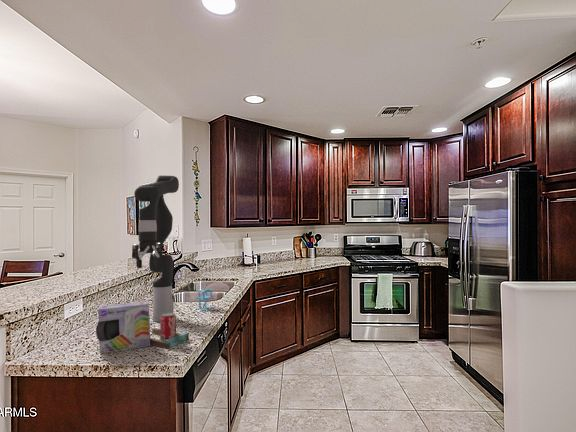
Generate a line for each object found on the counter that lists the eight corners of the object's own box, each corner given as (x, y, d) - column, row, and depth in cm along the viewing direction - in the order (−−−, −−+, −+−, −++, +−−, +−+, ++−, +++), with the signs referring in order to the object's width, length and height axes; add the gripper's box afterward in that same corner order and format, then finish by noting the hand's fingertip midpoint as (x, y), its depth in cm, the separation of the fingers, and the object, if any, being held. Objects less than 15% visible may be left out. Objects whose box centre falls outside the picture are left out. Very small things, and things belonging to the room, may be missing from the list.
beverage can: (178, 340, 146) (178, 311, 146) (173, 345, 140) (173, 316, 140) (163, 340, 146) (163, 312, 146) (157, 346, 140) (157, 316, 140)
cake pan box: (95, 354, 132) (95, 308, 132) (98, 349, 136) (97, 305, 137) (150, 347, 138) (149, 303, 139) (150, 343, 143) (150, 300, 143)
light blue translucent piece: (207, 307, 204) (206, 286, 204) (215, 309, 198) (214, 288, 198) (195, 309, 198) (195, 288, 198) (203, 311, 192) (203, 290, 193)
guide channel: (154, 332, 157) (154, 325, 157) (188, 340, 146) (188, 332, 146) (132, 340, 147) (132, 333, 147) (167, 348, 136) (167, 341, 136)
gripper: (155, 230, 162) (155, 264, 162) (128, 230, 150) (128, 268, 150) (166, 230, 159) (166, 265, 158) (139, 231, 146) (139, 269, 146)
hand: (147, 267), depth 154 cm, fingers open, 8 cm apart
